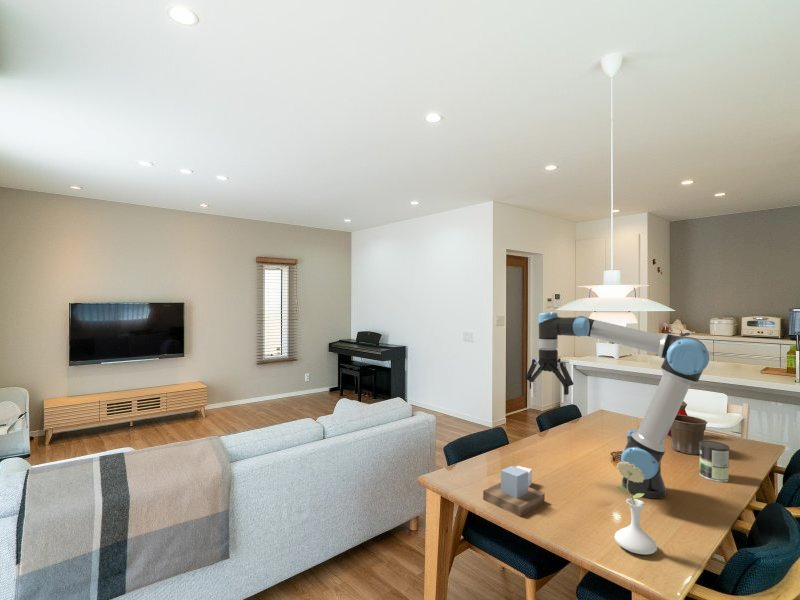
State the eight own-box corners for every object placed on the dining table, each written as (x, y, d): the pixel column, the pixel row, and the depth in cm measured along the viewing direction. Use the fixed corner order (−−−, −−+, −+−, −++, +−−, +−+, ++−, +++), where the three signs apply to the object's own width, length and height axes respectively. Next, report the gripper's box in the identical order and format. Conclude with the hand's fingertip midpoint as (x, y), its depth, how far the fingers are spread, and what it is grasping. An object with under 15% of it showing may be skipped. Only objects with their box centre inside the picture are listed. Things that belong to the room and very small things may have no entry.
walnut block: (544, 504, 154) (544, 493, 154) (520, 518, 143) (520, 507, 143) (508, 488, 166) (508, 478, 166) (483, 501, 155) (483, 490, 155)
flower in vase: (666, 555, 122) (667, 471, 122) (636, 562, 119) (636, 475, 119) (630, 531, 135) (631, 455, 135) (601, 536, 132) (602, 458, 132)
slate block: (527, 492, 154) (527, 471, 154) (516, 498, 149) (517, 476, 149) (511, 486, 159) (511, 465, 159) (500, 491, 155) (501, 470, 155)
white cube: (531, 483, 170) (531, 469, 170) (527, 489, 165) (527, 474, 165) (517, 479, 173) (517, 465, 173) (512, 485, 168) (512, 470, 168)
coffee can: (696, 476, 177) (697, 444, 177) (701, 470, 185) (701, 438, 185) (727, 484, 170) (727, 450, 170) (730, 477, 177) (731, 444, 177)
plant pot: (696, 446, 215) (696, 415, 215) (714, 457, 199) (714, 424, 199) (662, 444, 218) (662, 413, 218) (677, 455, 202) (677, 422, 202)
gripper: (581, 350, 167) (582, 403, 167) (526, 346, 185) (526, 393, 185) (573, 352, 162) (573, 406, 162) (517, 347, 180) (517, 396, 180)
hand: (548, 399), depth 173 cm, fingers open, 13 cm apart
